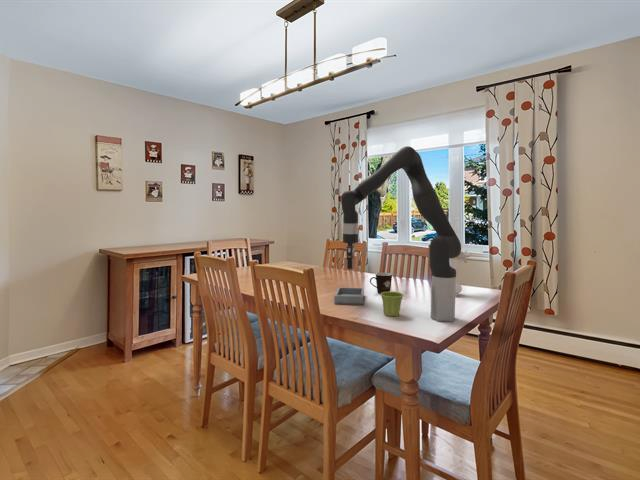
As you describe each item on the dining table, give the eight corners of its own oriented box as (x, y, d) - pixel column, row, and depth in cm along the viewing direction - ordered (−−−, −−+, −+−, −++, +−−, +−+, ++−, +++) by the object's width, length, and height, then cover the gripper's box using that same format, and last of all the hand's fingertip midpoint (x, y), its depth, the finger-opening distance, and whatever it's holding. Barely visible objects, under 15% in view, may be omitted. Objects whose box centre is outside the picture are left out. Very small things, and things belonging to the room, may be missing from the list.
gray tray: (362, 304, 162) (362, 296, 162) (334, 303, 164) (334, 295, 164) (363, 295, 180) (363, 288, 180) (338, 294, 182) (338, 287, 182)
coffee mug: (391, 291, 189) (391, 272, 188) (392, 295, 181) (393, 275, 180) (369, 290, 190) (369, 272, 190) (369, 294, 182) (370, 275, 181)
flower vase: (472, 293, 183) (474, 245, 181) (455, 299, 171) (456, 248, 169) (448, 289, 193) (450, 243, 191) (430, 295, 180) (432, 246, 178)
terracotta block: (355, 270, 168) (355, 257, 167) (344, 270, 169) (344, 257, 168) (356, 268, 173) (356, 256, 173) (345, 268, 174) (345, 256, 174)
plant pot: (386, 310, 154) (387, 290, 153) (407, 314, 148) (407, 293, 147) (375, 315, 147) (376, 294, 146) (396, 319, 141) (396, 298, 140)
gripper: (357, 234, 162) (357, 270, 163) (359, 231, 176) (358, 265, 177) (341, 233, 163) (340, 270, 165) (344, 231, 177) (343, 265, 179)
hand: (350, 267), depth 171 cm, fingers closed on terracotta block, 5 cm apart
